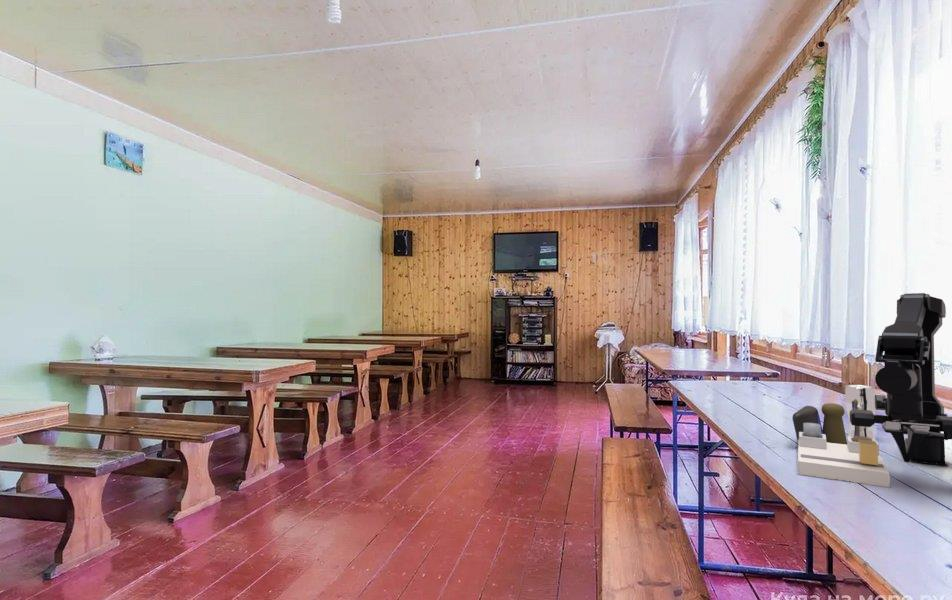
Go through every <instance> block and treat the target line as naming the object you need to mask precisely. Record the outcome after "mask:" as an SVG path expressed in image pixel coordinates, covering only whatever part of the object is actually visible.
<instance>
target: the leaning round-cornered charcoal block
mask: <svg viewBox="0 0 952 600" xmlns="http://www.w3.org/2000/svg"><path fill="white" fill-rule="evenodd" d="M819 414H820V413H819V409H817V408H816V407H815V406H813V405H805V406H802V408H800V409H798V410H797V411H796V412H794V413H793V414H792V423H793V427H794V431H795V432H794V433H795V435H796V440H797V442H798V440H799V432H804V427H803V423H816V424H820V425H821V434H823V425H822V421H821V418H820V415H819Z"/></svg>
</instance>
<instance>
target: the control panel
mask: <svg viewBox="0 0 952 600" xmlns="http://www.w3.org/2000/svg"><path fill="white" fill-rule="evenodd" d="M846 439H847V445H846V444H837V443H828V442H826V435H825V434H821V438H815V437H806V436H804V432H799V440H798V441H797V444H798V447H797V448H798V450H797V451H798V455H797V456H798V457H797V458H798V459H797V464H798V465H797V468H798V471H797V472H798V475H800V476H801V475H802V476H807V477H814V476H815V477H816V478H822V479H830V480H835V479H839V480H838V481H842V480H846V481H845V482H849V481H851V482H850V483H856V484H864V485H870V486H878V487H883V488H891V476H890V471H889V469H888V468H887V465H886V463H885V462H884V460H883V459H882V456H881V455H880V445H879V443H878V441H877V439H876V438H875V439H872V441H876V443H877V446H878V465H871V464H863V463H860V460H859V444H858V442H853V437H848V436H846Z"/></svg>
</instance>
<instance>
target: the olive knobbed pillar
mask: <svg viewBox="0 0 952 600" xmlns="http://www.w3.org/2000/svg"><path fill="white" fill-rule="evenodd" d="M821 412H822V414H823V423H822V430H823V434H825V435H826V442H828V443H837V444H846V445H847V434H846V431H845V424H844V420H843V416H844V415H845V414H846V413H845V408H844V406H843V405H841V404H839V403H832V402H830V403H829V402H828V403H824V404H823V405H822V406H821Z"/></svg>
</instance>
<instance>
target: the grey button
mask: <svg viewBox="0 0 952 600" xmlns="http://www.w3.org/2000/svg"><path fill="white" fill-rule="evenodd" d="M821 426H822V424H821V425H820V424H816V423H803V427H804V436H806V437H815V438H821Z"/></svg>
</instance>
